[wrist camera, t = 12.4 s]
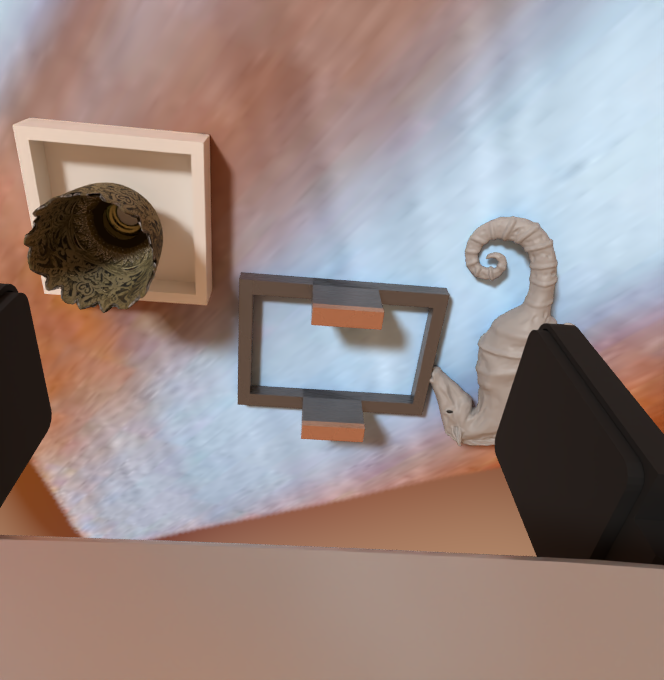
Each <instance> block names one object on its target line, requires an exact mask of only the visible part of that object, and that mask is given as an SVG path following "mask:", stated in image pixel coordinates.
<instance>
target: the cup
mask: <svg viewBox="0 0 664 680" xmlns="http://www.w3.org/2000/svg"><path fill="white" fill-rule="evenodd" d="M118 207H120V208H121V210H122V211H123V212H124V213H125V214H127V215H130V216H131V217H133V218H137V221H138V223H137V224H135V225H126V224H124V223H123V222H121V221H120V220H119V218H118V216H117V209H118ZM33 215H34V217H36V219H35V220H34V221H33V228H32V230H31V231H30V232H29V233H28V234H26V235H25V238H24V245H25V246H27V247H29V251H28V264H29V268H30V270H32V271H33V272H35V273H37V274H39V275H42V276H43V277H45V279H46V281H45V288H46V290H48V291H51V290H56V289H59V287H61V288H60V289H61V298H62V300H63V301H64V302H65V303H67V304H75V303H77V305H78V307H79V309H86V308H89V307H95V306H96V305H98V304H99V306H100V309H101V311H102V312H103V313H105V312H107V311H108V310H110V309H111V308H112V307H118V309H128V308H130V307H131V306H132V305H133V304H134V303H135V302H137V301H138V300H139V299H140V298H143V297H144V296H145V295H146V294H147V292H148V290H149V287H150V284H151V282H152V280H153V279H154V276H155V273H156V270H157V266H158V263H159V260H160V256H161V252H162V246H163V230H162V225H161V221H160V219H159V216H158V214H157V212H156V211H155V209H154V208H153V206H152V205H151V204H150V203H149V202H148V200H147V199H145V198H144V197H143V196H142V195H141V194H139V193H138V192H136V191H135V190H133V189H131V188H129V187H126V186H124V185H120V184H116V183H107V182H105V183H94V184H89V185H85V186H82V187H79V188H77V189H74V190H72V191H69V192H67V193H65V194H62V195H60V196H56V197H53V198H51V199H50V200H48V201H47V202H46V203H45V204H43V205H41V206H40V207H38V208H37V209H36V210H35V211H34V212H33Z"/></svg>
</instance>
